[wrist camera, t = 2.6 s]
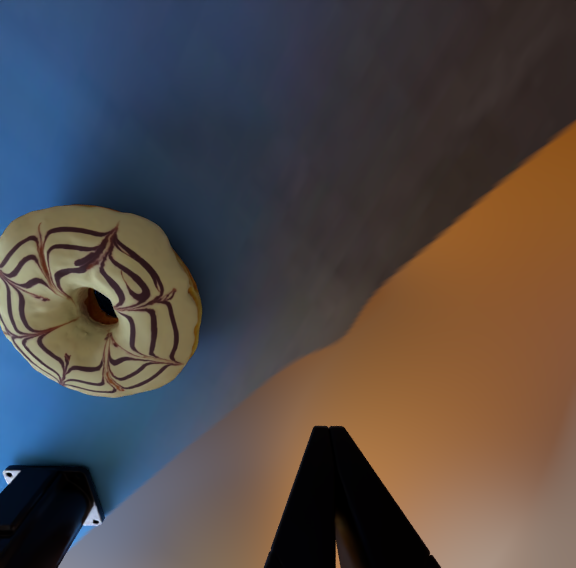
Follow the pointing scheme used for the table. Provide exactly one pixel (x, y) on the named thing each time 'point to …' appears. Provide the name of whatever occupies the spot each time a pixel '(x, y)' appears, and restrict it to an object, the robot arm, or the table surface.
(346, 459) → the robot arm
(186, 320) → the decorated donut
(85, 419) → the table surface
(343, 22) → the table surface
